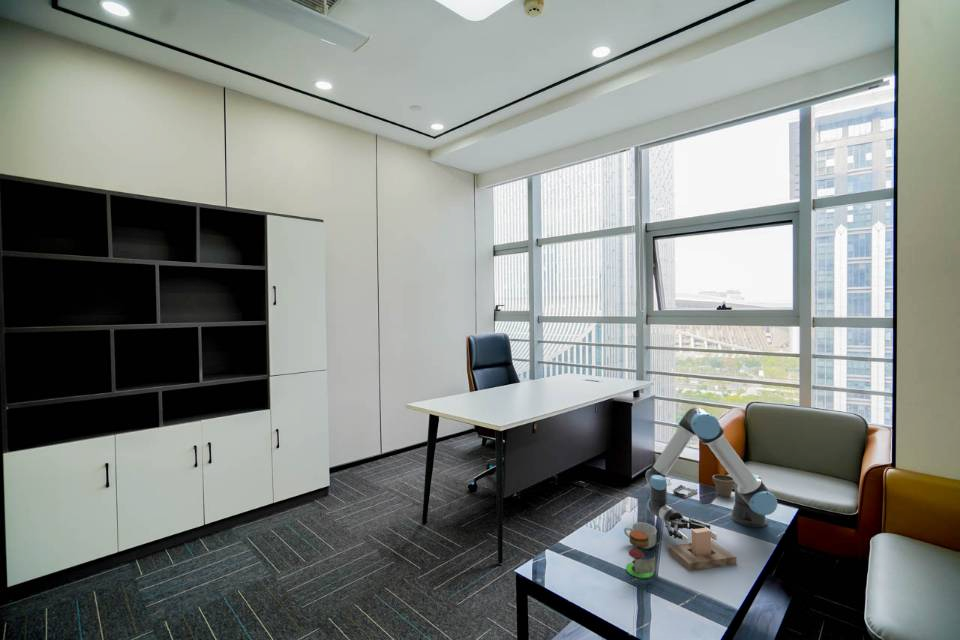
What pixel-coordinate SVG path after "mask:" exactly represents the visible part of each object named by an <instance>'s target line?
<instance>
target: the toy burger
mask: <svg viewBox="0 0 960 640" xmlns="http://www.w3.org/2000/svg"><path fill="white" fill-rule="evenodd" d="M628 534H629V535H630V538H629V543H630V544H631V545H632V546H633V547H632V548H631V549H629V551H628V555H629V557H631V558H632V559H633V560H632V561H631V562H629V563H627V565H626V566H625V569H626V572H627V573H628V574H629V575H630V576H632V577H634V576H635V578H637V577H638V578H637V579H650V578H652V577H653V576H654V572H655V571H656V554H655V553H654V557H652V558H649V559H643V558H644V557H645V554H644V552H643V551H642V550H641V549H640V548H641V547H647V546H648V545H649V538H648V534H647V533H645V532H643V531H638V530H635V531H630V532H629V533H628Z"/></svg>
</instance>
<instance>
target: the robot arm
mask: <svg viewBox="0 0 960 640" xmlns="http://www.w3.org/2000/svg"><path fill="white" fill-rule="evenodd" d="M724 435H725V430H724V428H722V425H721V424H720V422H719V420H718V418H716V416H715V415H713V414H712V413H709V412H708V411H707V410H706V409H705V408H702V407H693V408H690V409H689V410H687V411H686V412H685V413H684V415H683V416H682V418H681V420H680V421H679V423H678V428H677V430H676V431H675V433H674V434H673V436H672V437H671V439H670V440H669V442H668V443H667V445H666V446H665V447H664V449H663V451H662V452H661V454H660V455H659V456H658V458H657V460H656V461H655V463H654V464H653V465H652V467H651V468H649V469H647V470H646V472H645V480H646V482H647V485H648V487H649V490H650V497H649V498H648V500H647V502H646V508H647V510H648V511H649V512H650V513H651V514H652V515H654V516H656V517H657V518H659V519H660V520H661V521H663V522H664V527H665V528H666V529H667V530H666V531H667V532H668V535H669V537H673V538H674V539H679V540H681V541H682V542H683V543H684V544H689V543H690V540H689V537H688V536H687V535H686V534H684V533H683V532H681V531H680V529H681V530H682V529H687V530H692V529H700V528H707V529H708V530H710V531H711V540H712V539H713V541H714V542H716V541H717V540H718V534H717V533H716V532H714V531H713V530H712V529H711V524H708V523H706V522H705V523H704V522H701V521H699V520H696V519H693V518H691V517H688V519H686V518H684V517H683V515H682V514H681V513H680V512H679V511H677V510H676V509H674V507H673V508H672V507H671V506H670V505H668V498H667V496H668V485H667V484H668V483H667V478H666V477H667V475H668V474H669V472H670V471H671V469H672V468H673V467H674V465H675V463H676V462H677V460H678V459H679V458H680V456H681V455H682V453H683V452H684V450H685V449H686V447H687V446H688V444H689V442H690V441H691V440H692V438H693V437H695V436H696V437H697V438H698V440H699V441H700V443H702V444H703V445H707V446H708V448H709V450H711V452H712V453H713V454H714V456H715V457H716V458H717V459H718V461H719V462H720V464H721V465H722V466H723V468H724V469H725V470H726V472H727V474H729V475H728V476H731V477H732V479H733V480H734V485H733V487H734V504H733V507H732V510H731V512H730V513H731V514H730V515H731V516H730V517H731V520H733V522H736V523H737V524H738V525H742V526H747V527H752V528H763V527H766V525H767V517H766V516H770V515H772V514H773V513H774V512H775V511H776V510H777V507H778V500H777V497H776V496H775V494H773V493H772V492H771V491H770V490H769V489H768V487H767V486H766V484H764V482H763V481H762V477H761V476H760V475H758V474H754V473H752V472H751V471H750V469H749V468H748V466H747V465H746V464H745V462H744V461H743V459H741V457H740V455H739V454H738V453H737V452H736V450H735V449H734V448H733V447H732V445H731V444H730V442H729V441H728V440H727V438H726V436H724Z"/></svg>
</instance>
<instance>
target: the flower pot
mask: <svg viewBox="0 0 960 640" xmlns="http://www.w3.org/2000/svg"><path fill="white" fill-rule="evenodd" d="M712 482H713V483H714V485H715V490H716V492H717V496H719V497H723V498H729V497H731V495H732V493H733V487H734V480H733V479H732V477H731V476H730V475H726V474H714V475H712Z"/></svg>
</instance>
